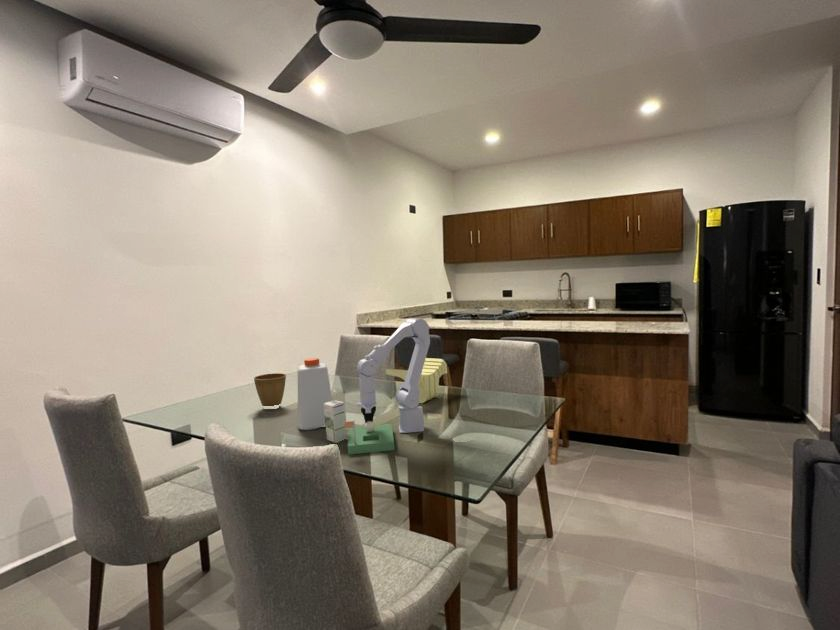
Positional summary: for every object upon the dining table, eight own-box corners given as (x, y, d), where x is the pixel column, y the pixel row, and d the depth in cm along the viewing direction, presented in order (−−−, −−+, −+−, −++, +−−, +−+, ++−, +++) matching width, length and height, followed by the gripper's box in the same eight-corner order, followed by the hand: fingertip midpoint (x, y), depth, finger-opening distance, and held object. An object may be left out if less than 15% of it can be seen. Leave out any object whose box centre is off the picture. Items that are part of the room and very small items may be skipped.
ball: (375, 425, 169) (374, 418, 167) (376, 433, 166) (374, 426, 164) (365, 427, 169) (363, 419, 167) (365, 435, 166) (364, 427, 164)
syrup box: (347, 439, 169) (344, 401, 168) (334, 443, 164) (332, 405, 163) (338, 436, 173) (335, 399, 171) (325, 440, 168) (322, 403, 167)
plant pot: (268, 414, 209) (265, 380, 207) (250, 410, 218) (247, 377, 216) (294, 406, 220) (292, 374, 219) (276, 402, 229) (274, 371, 228)
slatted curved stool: (415, 409, 203) (413, 370, 202) (388, 405, 212) (385, 368, 210) (448, 393, 228) (446, 359, 227) (422, 390, 237) (420, 357, 235)
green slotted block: (391, 431, 175) (389, 403, 174) (394, 449, 155) (392, 419, 154) (348, 435, 173) (346, 407, 172) (346, 454, 153) (343, 423, 152)
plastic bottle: (298, 432, 180) (292, 363, 178) (298, 421, 194) (293, 358, 192) (336, 427, 184) (331, 360, 182) (333, 416, 198) (328, 354, 196)
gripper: (357, 387, 174) (359, 421, 175) (356, 396, 159) (358, 433, 160) (375, 386, 175) (377, 420, 176) (375, 395, 160) (377, 432, 161)
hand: (369, 426), depth 168 cm, fingers closed, pressing on ball
